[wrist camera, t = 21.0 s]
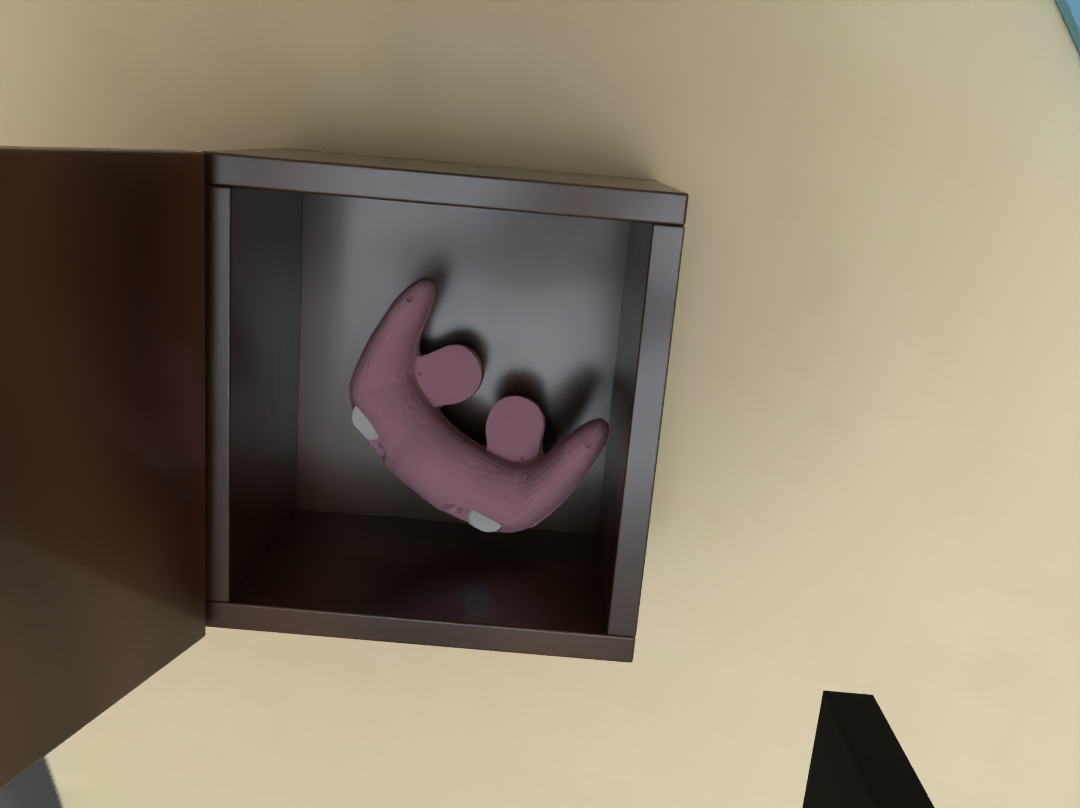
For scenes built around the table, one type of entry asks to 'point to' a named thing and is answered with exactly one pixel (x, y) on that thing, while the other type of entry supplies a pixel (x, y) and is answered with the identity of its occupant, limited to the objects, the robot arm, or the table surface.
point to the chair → (1071, 18)
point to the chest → (510, 370)
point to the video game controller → (441, 448)
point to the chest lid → (97, 432)
